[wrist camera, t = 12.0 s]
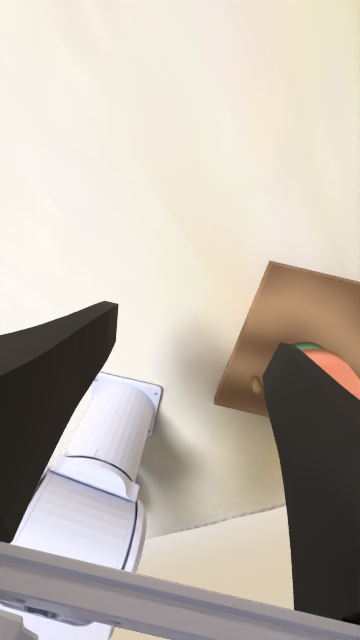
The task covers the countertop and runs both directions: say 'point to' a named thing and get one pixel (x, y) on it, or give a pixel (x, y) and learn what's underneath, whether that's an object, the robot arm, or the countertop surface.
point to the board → (290, 329)
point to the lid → (336, 369)
